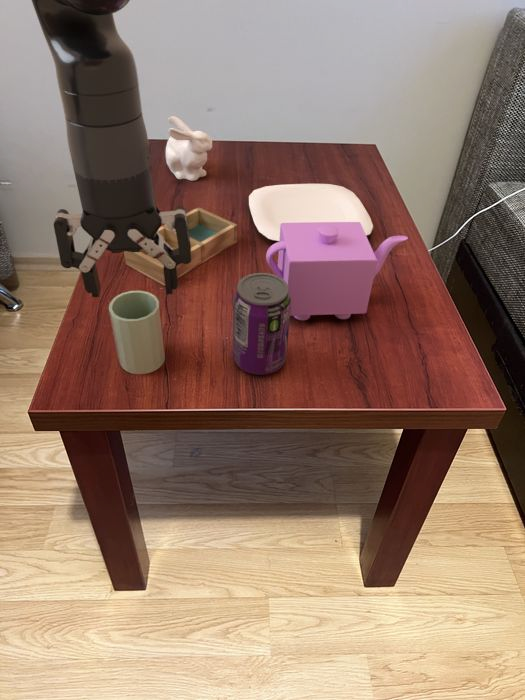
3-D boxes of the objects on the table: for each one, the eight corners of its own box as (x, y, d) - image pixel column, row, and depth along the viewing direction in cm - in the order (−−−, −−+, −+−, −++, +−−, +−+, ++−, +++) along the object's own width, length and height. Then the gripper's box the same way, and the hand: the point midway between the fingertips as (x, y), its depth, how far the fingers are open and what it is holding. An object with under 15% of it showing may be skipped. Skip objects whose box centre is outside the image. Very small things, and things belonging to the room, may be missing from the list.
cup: (140, 381, 69) (132, 327, 63) (109, 360, 72) (98, 306, 66) (174, 356, 73) (169, 303, 67) (143, 337, 75) (136, 284, 69)
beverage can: (286, 379, 70) (293, 307, 62) (231, 377, 70) (231, 304, 62) (285, 343, 76) (291, 271, 67) (234, 341, 75) (234, 269, 67)
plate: (381, 245, 95) (383, 237, 94) (259, 252, 92) (260, 243, 91) (348, 189, 111) (349, 181, 110) (243, 193, 108) (243, 185, 107)
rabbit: (218, 178, 112) (216, 119, 104) (179, 190, 108) (175, 129, 99) (185, 158, 119) (182, 101, 111) (148, 168, 114) (141, 109, 106)
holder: (164, 286, 84) (163, 268, 82) (125, 264, 88) (122, 246, 86) (237, 241, 94) (237, 224, 92) (199, 224, 98) (198, 206, 96)
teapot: (267, 324, 78) (271, 250, 70) (260, 283, 86) (263, 211, 77) (401, 320, 80) (421, 247, 72) (383, 280, 88) (400, 210, 79)
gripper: (29, 178, 50) (67, 314, 61) (184, 175, 52) (194, 308, 63) (44, 145, 56) (76, 276, 67) (184, 143, 57) (193, 271, 68)
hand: (133, 291), depth 65 cm, fingers open, 8 cm apart
